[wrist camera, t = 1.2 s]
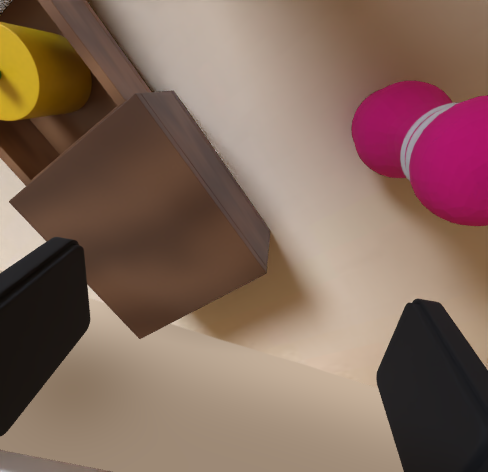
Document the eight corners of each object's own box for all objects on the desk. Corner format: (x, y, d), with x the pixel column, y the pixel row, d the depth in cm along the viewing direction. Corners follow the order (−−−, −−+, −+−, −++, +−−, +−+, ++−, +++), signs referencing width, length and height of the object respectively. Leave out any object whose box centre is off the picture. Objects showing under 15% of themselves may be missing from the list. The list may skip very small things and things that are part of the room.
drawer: (-93, -12, 29) (-196, -38, 23) (-1, -143, 24) (-99, -220, 18) (70, 177, 35) (24, 198, 28) (168, 98, 30) (138, 102, 24)
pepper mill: (360, 176, 32) (456, 297, 14) (334, 105, 30) (409, 141, 12) (438, 143, 30) (666, 235, 12) (417, 64, 28) (660, 32, 10)
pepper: (8, 64, 29) (-91, 58, 22) (53, 15, 27) (-37, -12, 20) (60, 127, 31) (-14, 141, 24) (106, 85, 29) (42, 86, 22)
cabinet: (69, 175, 36) (8, 201, 28) (173, 90, 31) (135, 92, 23) (168, 289, 40) (139, 339, 32) (270, 231, 36) (266, 273, 28)
